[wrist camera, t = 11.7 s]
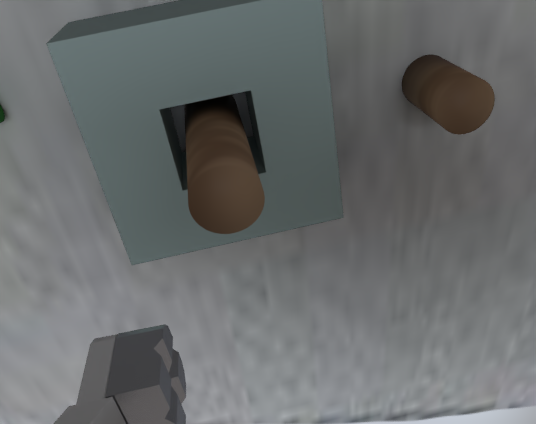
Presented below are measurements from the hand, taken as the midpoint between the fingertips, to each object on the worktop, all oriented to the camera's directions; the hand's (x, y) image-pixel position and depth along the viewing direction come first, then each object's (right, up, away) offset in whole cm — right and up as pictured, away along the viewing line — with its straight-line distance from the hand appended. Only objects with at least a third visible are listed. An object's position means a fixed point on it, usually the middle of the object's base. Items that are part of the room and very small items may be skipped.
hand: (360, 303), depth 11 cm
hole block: (-5, +8, +18) cm, 21 cm away
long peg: (-5, +8, +18) cm, 21 cm away
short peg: (+8, +10, +20) cm, 23 cm away
